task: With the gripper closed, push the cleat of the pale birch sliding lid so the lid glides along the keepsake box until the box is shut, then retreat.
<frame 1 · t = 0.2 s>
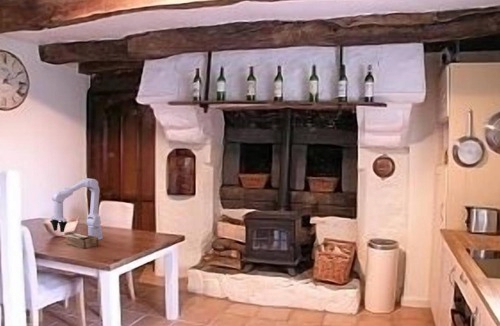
hand: (58, 231, 318), 10 cm above the table, fingers open, 7 cm apart
lid: (75, 235, 325), point 6 cm above the table, slide at 8.0 cm
keepsake box: (82, 245, 320), on the table
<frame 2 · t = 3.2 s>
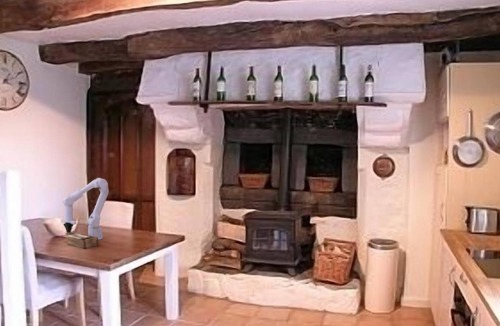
hand: (68, 233, 329), 6 cm above the table, fingers closed
lid: (76, 235, 324), point 6 cm above the table, slide at 6.9 cm, touching gripper
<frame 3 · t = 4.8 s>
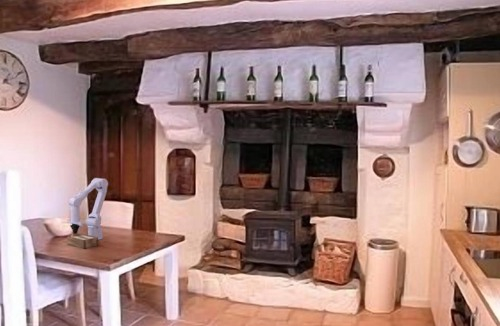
hand: (75, 234, 325), 6 cm above the table, fingers closed
lid: (82, 236, 320), point 6 cm above the table, slide at -0.1 cm, touching gripper
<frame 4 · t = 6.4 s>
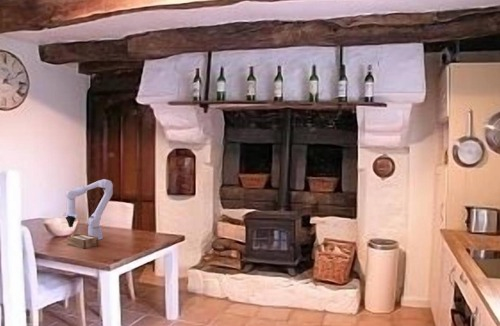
hand: (70, 227, 330), 10 cm above the table, fingers closed
lid: (82, 236, 320), point 6 cm above the table, slide at 0.0 cm
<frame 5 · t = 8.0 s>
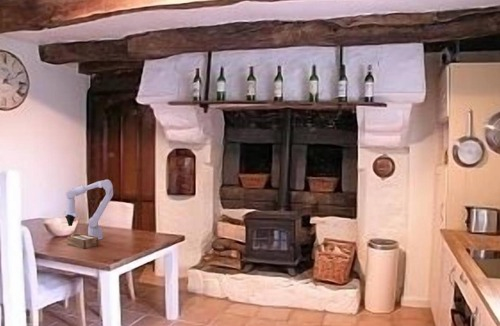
hand: (70, 225, 334), 10 cm above the table, fingers closed
nothing on the table moved.
at the end: lid slide at 0.0 cm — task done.
